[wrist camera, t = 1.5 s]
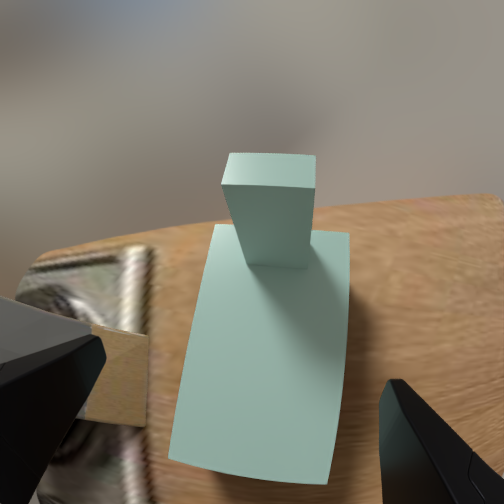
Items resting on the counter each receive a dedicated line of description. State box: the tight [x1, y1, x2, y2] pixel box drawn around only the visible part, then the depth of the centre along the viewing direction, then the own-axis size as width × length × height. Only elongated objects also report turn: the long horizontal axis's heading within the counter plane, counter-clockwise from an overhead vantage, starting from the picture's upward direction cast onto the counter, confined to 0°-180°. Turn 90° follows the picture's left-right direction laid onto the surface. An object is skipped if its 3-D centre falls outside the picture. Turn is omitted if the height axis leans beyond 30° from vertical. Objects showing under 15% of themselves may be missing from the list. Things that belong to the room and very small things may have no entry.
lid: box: [168, 153, 350, 484], centre depth 14 cm, size 17×10×10 cm, turn 171°
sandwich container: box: [0, 296, 149, 427], centre depth 15 cm, size 9×15×15 cm, turn 90°
